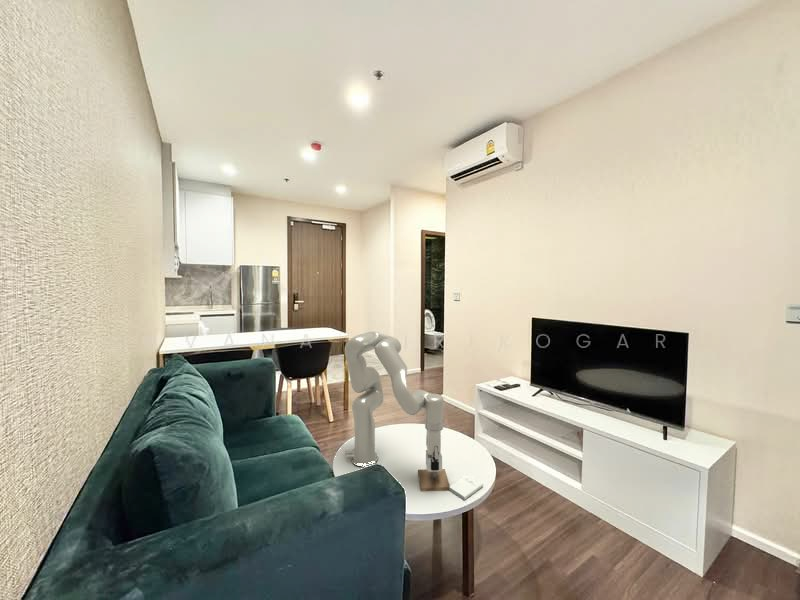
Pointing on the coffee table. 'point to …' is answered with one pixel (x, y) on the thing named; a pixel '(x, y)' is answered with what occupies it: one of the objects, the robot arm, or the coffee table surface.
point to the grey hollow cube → (429, 459)
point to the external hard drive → (465, 487)
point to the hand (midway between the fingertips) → (433, 464)
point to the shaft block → (433, 480)
